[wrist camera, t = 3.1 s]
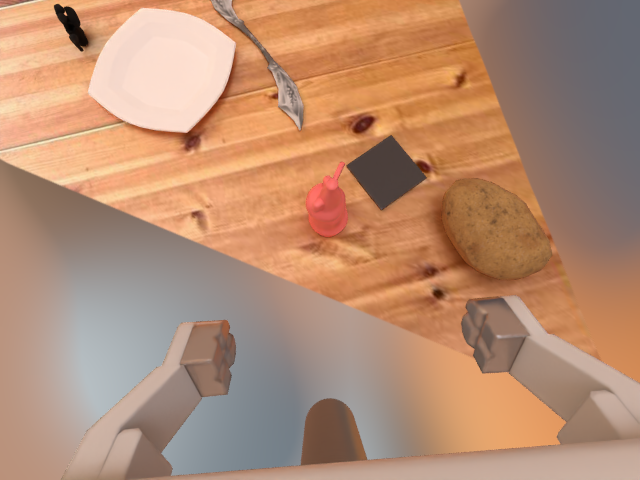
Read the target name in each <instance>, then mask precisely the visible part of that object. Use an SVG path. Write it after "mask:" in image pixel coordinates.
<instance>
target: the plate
mask: <svg viewBox="0 0 640 480" xmlns="http://www.w3.org/2000/svg"><path fill="white" fill-rule="evenodd" d="M235 47H236V43H235V42H234V41H233V40H232V39H230V38H229V37H228V36H226V35H225V34H224V33H222V32H221V31H220V30H218V29H217V28H216V27H214V26H213V25H211V24H209V23H208V22H206V21H204V20H202V19H200V18H198V17H196V16H193V15H190V14H186V13H183V12H177V11H171V10H162V9H150V8H141V9H140V10H139V11H137V12H136V13H135V14H134V15H133V16H131V17H130V18H129V19H128V20H127V21H126V22H125V23H124V24H123V25H122V26H121V27H120V28H119V29H118V30H117V31H116V32H115V33H114V34H113V35H112V36H111V38H110V39H109V40H108V42H107V43H106V44H105V46H104V48H103V50H102V52H101V53H100V55H99V58H98V61H97V63H96V66H95V68H94V72H93V75H92V78H91V82H90V86H89V90H88V94H89V95H90V96H91V97H92V98H94V99H95V100H96V101H97V102H98V103H99V104H100V105H102V106H103V107H104V108H105V109H107V110H108V111H109V112H111V113H112V114H114V115H115V116H117V117H118V118H120V119H122V120H124V121H126V122H128V123H130V124H133V125H136V126H139V127H142V128H147V129H152V130H158V131H168V132H180V133H188V132H189V131H190V130H191V129H192V128H193V127H194V126H195V125H196V124H197V123H198V122H199V121H200V120H201V119H202V118H203V117H204V116H205V115H206V114H207V113H208V111H209V110H210V109H211V108H212V107H213V105H214V104H215V103H216V102H217V100H218V99H219V97H220V96H221V94H222V93H223V91H224V89H225V86H226V84H227V82H228V79H229V75H230V72H231V69H232V64H233V59H234V54H235Z"/></svg>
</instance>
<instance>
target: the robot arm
mask: <svg viewBox="0 0 640 480" xmlns="http://www.w3.org/2000/svg"><path fill="white" fill-rule="evenodd" d="M466 309H467V311H468V312H467V313H466V314H465V315H464V316H463V318H462V322H461V325H462V332H463V335H464V338H465V340H466V342H467V344H468V345H470V346H471V347H473V348H474V349H475V350H474V354H473V356H474V358H475V360H476V362H477V364H478V366H479V367H480V370H481V371H482V373H499V372H509V374H510V375H511V376H513V377H514V378H515V379H516V380H517V381H519V382H520V383H521V384H522V385H523V386H525V387H526V388H527V389H528V390H529V391H530V392H532V393H533V394H534V395H535V396H536V397H537V398H539V399H540V400H541V401H542V402H544V403H545V404H546V405H547V406H548V407H549V408H551V409H552V410H553V411H554V412H555V413H556V414H558V415H559V416H560V417H561V418H562V419H564V420H565V421H566V424H565V425H564V426H563V428H562V429H561V430H560V431H559V433H558V435H557V438H558V440H559V442H560V443H561V444H560V445H548V446H536V447H524V448H511V449H498V450H486V451H474V452H461V453H449V454H436V455H424V456H412V457H399V458H387V459H374V460H362V461H349V462H337V463H325V464H312V465H300V466H287V467H275V468H263V469H251V470H238V471H226V472H215V473H201V474H189V475H177V476H171V473H172V467H171V465H170V463H169V462H168V461H167V460H166V459H165V458H164V456H163V455H162V454H161V452H162V451H163V449H164V448H165V447H166V446H167V444H168V443H169V442H170V440H171V439H172V438H173V436H174V435H175V434H176V432H177V431H178V430H179V429H180V427H181V426H182V425H183V423H184V422H185V421H186V419H187V418H188V417H189V415H190V414H191V413H192V411H193V410H194V409H195V407H196V406H197V405H198V403H199V402H200V401H201V399H202V398H201V397H208V396H217V395H226V394H228V390H229V385H230V381H231V376H232V375H231V373H230V370H229V368H230V367H231V366H232V365H233V364H234V360H235V355H236V345H235V339H234V337H233V335H232V334H230V333H229V329H230V325H229V323H228V321H227V320H218V321H200V322H187V323H181V324H180V325H179V326H178V328H177V330H176V333H175V335H174V337H173V340H172V342H171V345H170V347H169V349H168V352H167V354H166V357H165V359H164V361H163V364H162V366H161V367H156V368H155V369H154V370H153V371H152V372H151V373H150V374H149V375H148V376H146V377H145V378H144V379H143V380H142V381H141V382H140V383H139V384H138V385H137V386H135V387H134V388H133V389H132V390H131V391H130V392H129V393H128V394H127V395H126V396H124V397H123V398H122V399H121V400H120V401H119V402H118V403H117V404H116V405H115V406H114V407H113V408H112V409H110V410H109V411H108V412H107V413H106V414H105V415H104V416H103V417H101V418H100V419H99V420H98V421H97V422H96V423H95V424H94V425H93V426H92V427H91V428H89V429H88V430H87V432H86V433H85V435H84V437H83V439H82V441H81V443H80V445H79V447H78V448H77V450H76V452H75V454H74V456H73V458H72V460H71V462H70V463H69V465H68V467H67V469H66V471H65V473H64V475H63V477H62V479H61V480H640V383H638V382H637V381H635V380H633V379H631V378H630V377H628V376H626V375H624V374H622V373H621V372H619V371H617V370H616V369H614V368H612V367H610V366H609V365H607V364H605V363H603V362H602V361H600V360H598V359H596V358H595V357H593V356H591V355H589V354H587V353H586V352H584V351H582V350H580V349H579V348H577V347H575V346H573V345H572V344H570V343H568V342H566V341H565V340H563V339H561V338H559V337H558V336H556V335H554V334H548V333H547V332H546V331H545V329H544V328H543V327H542V325H541V324H540V323H539V322H538V320H537V319H536V318H535V317H534V315H533V314H532V313H531V312H530V310H529V309H528V308H527V307H526V305H525V304H524V303H523V301H522V300H521V299H520V298H519V297H518V296H516V295H511V296H500V297H498V296H497V297H487V298H477V299H469V300H468V301H467V304H466Z"/></svg>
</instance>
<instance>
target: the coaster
mask: <svg viewBox="0 0 640 480" xmlns="http://www.w3.org/2000/svg"><path fill="white" fill-rule="evenodd" d="M347 168H348V169H349V170H350V171H351V173H352V174H353V175H354V177H355V178H356V179H357V180H358V182H359V183H360V184H361V185H362V187H363V188H364V189H365V191H366V192H367V193H368V194H369V196H370V197H371V198H372V199H373V201H374V202H375V203H376V205H377V206H378V207H379V208H380V210H383V209H384V208H385V207H387V206H388V205H390V204H391V203H392V202H394V201H395V200H397V199H398V198H399V197H401V196H402V195H404V194H405V193H406V192H408V191H409V190H411V189H412V188H413V187H415V186H416V185H418V184H419V183H420V182H422V181H423V180H425V179H426V178H427V177H426V176H425V175H424V174H423V173H422V171H421V170H420V169H419V168H418V167H417V165H416V164H415V163H414V162H413V161H412V159H411V158H410V157H409V156H408V154H407V153H406V152H405V151H404V150H403V148H402V147H401V146H400V145H399V144H398V142H397V141H396V140H395V139H394V138H393V136H392V135H391V136H389V137H388V138H386V139H385V140H383V141H382V142H380V143H379V144H377V145H376V146H374V147H373V148H371V149H370V150H368V151H367V152H366V153H364V154H363V155H361V156H360V157H358V158H357V159H355V160H354V161H352V162H351V163H349V164H348V165H347Z"/></svg>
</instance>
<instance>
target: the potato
mask: <svg viewBox="0 0 640 480" xmlns="http://www.w3.org/2000/svg"><path fill="white" fill-rule="evenodd" d="M441 216H442V221H443V225H444V229H445V231H446V233H447V235H448V237H449V239H450V241H451V242H452V244H453V245H454V247H455V249H456V250H457V252H458V253H459V254H460V256H461V257H462V258H463V260H464V261H465V262H466V263H467V264H468V265H469V266H471V267H472V268H474V269H475V270H477V271H478V272H480V273H483V274H485V275H488V276H490V277H493V278H496V279H499V280H516V279H520V278H525V277H527V276H529V275H531V274H534V273H536V272H538V271H540V270H542V269H543V268H544V267H545V265H546V264H547V262H548V261H549V259H550V258H551V256H552V251H551V246H550V242H549V239H548V238H547V236H546V234H545V233H544V231H543V230H542V228H541V226H540V225H539V223H538V222H537V221H536V219H535V218H534V216H533V215H532V213H531V211H530V210H529V208H528V206H527V204H526V203H525V202H524V201H522V200H521V199H520V198H519V197H518V196H517V195H515V194H513V193H511V192H509V191H507V190H505V189H503V188H502V187H500V186H498V185H496V184H494V183H492V182H489V181H486V180H482V179H478V178H471V179H460V180H456V181H455V182H454V183H453V185H452V186H451V187H450V188H449V189H448V190H447V191H446V192H445V195H444V198H443V204H442V212H441Z"/></svg>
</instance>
